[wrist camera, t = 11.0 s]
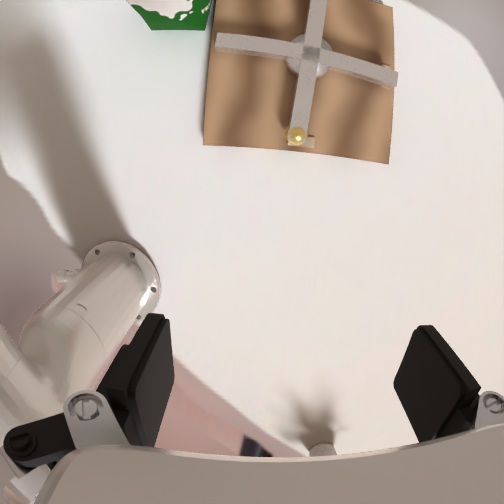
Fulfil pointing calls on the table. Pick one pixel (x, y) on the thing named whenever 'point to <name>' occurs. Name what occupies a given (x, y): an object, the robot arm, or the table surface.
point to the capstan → (306, 64)
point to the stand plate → (283, 82)
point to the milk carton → (173, 13)
